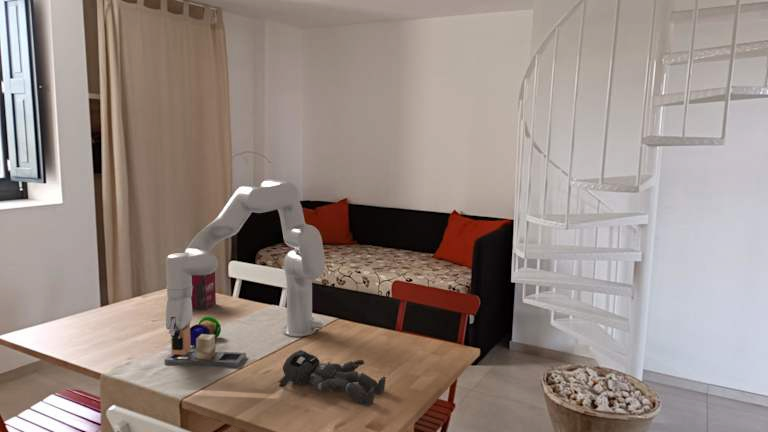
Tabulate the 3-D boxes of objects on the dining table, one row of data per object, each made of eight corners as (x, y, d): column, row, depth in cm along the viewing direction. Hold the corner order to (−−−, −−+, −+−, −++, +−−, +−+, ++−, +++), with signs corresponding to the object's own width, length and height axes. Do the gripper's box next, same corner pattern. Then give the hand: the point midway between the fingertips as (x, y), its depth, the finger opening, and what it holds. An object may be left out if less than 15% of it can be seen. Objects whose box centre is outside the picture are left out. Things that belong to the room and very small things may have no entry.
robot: (367, 390, 149) (274, 358, 160) (362, 424, 151) (271, 390, 162) (390, 367, 164) (304, 339, 175) (386, 398, 166) (301, 369, 177)
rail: (246, 360, 182) (246, 352, 182) (238, 370, 174) (238, 362, 174) (175, 357, 184) (175, 349, 183) (164, 367, 176) (164, 359, 175)
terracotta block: (190, 349, 181) (190, 326, 180) (185, 354, 176) (184, 330, 175) (177, 348, 181) (176, 325, 180) (171, 354, 177) (170, 330, 175)
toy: (214, 334, 187) (232, 319, 202) (194, 318, 187) (213, 304, 202) (195, 359, 189) (214, 342, 204) (176, 343, 189) (196, 328, 204)
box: (169, 307, 235) (168, 262, 232) (180, 301, 244) (179, 257, 241) (206, 310, 232) (204, 264, 229) (215, 304, 241) (214, 259, 238)
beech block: (215, 358, 181) (214, 334, 180) (210, 363, 176) (209, 339, 175) (202, 357, 181) (201, 334, 180) (196, 362, 177) (196, 339, 175)
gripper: (179, 284, 184) (181, 336, 187) (155, 299, 168) (157, 356, 170) (201, 285, 184) (202, 337, 187) (179, 300, 167) (181, 357, 170)
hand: (181, 346), depth 178 cm, fingers closed on terracotta block, 4 cm apart
